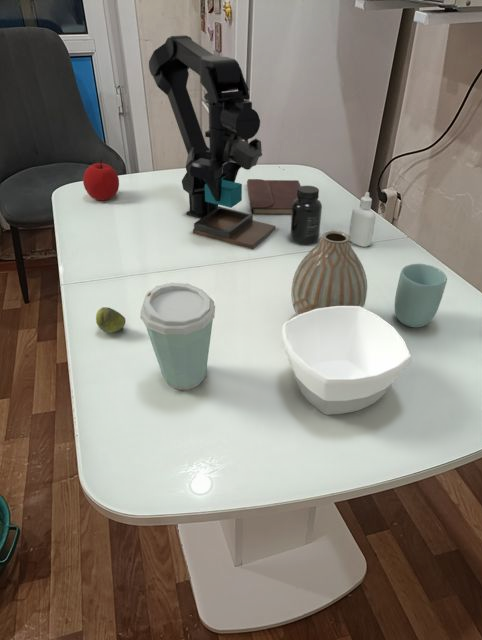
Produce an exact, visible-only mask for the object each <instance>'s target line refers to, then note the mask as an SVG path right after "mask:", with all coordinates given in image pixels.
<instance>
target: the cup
mask: <svg viewBox="0 0 482 640" xmlns="http://www.w3.org/2000/svg"><path fill="white" fill-rule="evenodd" d="M447 280H448V276H447V274H446V273H445V272H444V271H443V270H441V268H438V267H436V266H434V265H430V264H426V263H412V264H411V263H410V264H408V265H406V266H404V267H403V268H402V269H401V270H400V273H399V278H398V282H397V286H396V290H395V297H394V303H393V305H394V314H395V317H396V318H397V319H398V321H399V322H400V323H401V324H402V325H404V326H406V327H409V328H421V327H425V326H428V324H430V323H431V322H432V320H433V319H434V318H435V316H436V314H437V312H438V311H439V307H440V305H441V302H442V298H443V295H444V292H445V289H446V286H447V283H448V282H447Z"/></svg>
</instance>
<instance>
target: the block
mask: <svg viewBox="0 0 482 640" xmlns="http://www.w3.org/2000/svg"><path fill="white" fill-rule="evenodd" d="M242 200H243V184H242V183H240V182H236V181H235V182H231V181H227V180H223V179H222V186H221V197H220V201H215V199H214V197H213V195H212V193H211V191H210V190H209V188H208V186H207V184H205V201H206V202H210V203H214V204H218V206H221V207H225V208H229V209H231V208H232V209H233V207H234V206H236V205H237V204H239V203H241V201H242Z"/></svg>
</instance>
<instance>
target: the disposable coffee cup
mask: <svg viewBox="0 0 482 640" xmlns="http://www.w3.org/2000/svg"><path fill="white" fill-rule="evenodd" d="M142 302H143V303H142V304H141V305H142V306H141V309H140V319H141V321H142V322H143V324H144V326H145V328H146V331H147V334H148V337H149V340H150V343H151V345H152V348H153V351H154V355H155V357H156V360H157V363H158V366H159V369H160V371H161V375H162V377H163V379H164V380H165V382H166V383H167V385H168V386H169V387H171V388H173V389H175V390H179V391H180V390H181V391H183V390H184V391H186V390H187V391H189V390H191V389H194V388H197V387H199V386H200V385H201V383H202V382H204V380H205V378H206V375H207V367H208V361H209V360H208V359H209V352H210V346H211V345H210V344H211V337H212V328H213V321H214V319H215V315H216V314H215V313H216V305H215V301H214V299H212V298H211V297H210V296H209V294H207V292H206V291H204V290H203V289H202V288H199V287H197V286H194V285H192V284H189V283H180V282H169V283H168V282H167V283H164V284H160V285H156V286H154V287H153V288H152V289H151V290H149V291H148V292H147V293H146V294H145V296H144V298H143V301H142Z"/></svg>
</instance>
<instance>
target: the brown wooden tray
mask: <svg viewBox="0 0 482 640" xmlns="http://www.w3.org/2000/svg"><path fill="white" fill-rule="evenodd" d="M276 228H277V227H276V225H275V224H270V223H265V222H261V221H258V220H254V214H252V213H249V212H243V211H240V210H235V209H231V208H228V207H224V206H218V208H216V209H215V210H213V211H212V212H210V213H209V214H207V215H206V216H204V217H203V218H199V219H198V220H197V221H195V222H193V229H192V234H194V235H197V236H201V237H205V238H209V239H213V240H217V241H220V242H224V243H228V244H231V245H236V246H239V247H243V248H246V249H250V250H254V249H255V248H256V247H257V246H258V245H259V244H261V243H262V242H263V241H264V240H265V239H266V238H268V237H269V236H270V235H271V234H272V233H273V232H275V231H276Z"/></svg>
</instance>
